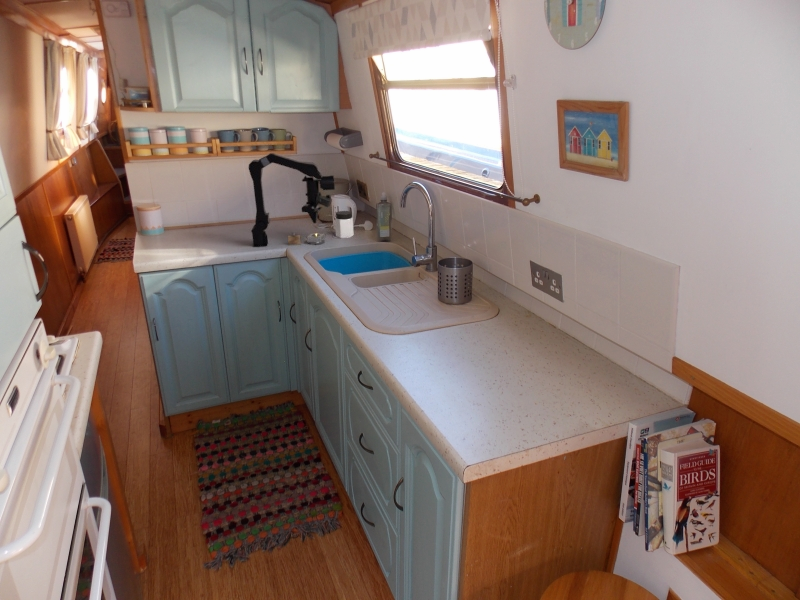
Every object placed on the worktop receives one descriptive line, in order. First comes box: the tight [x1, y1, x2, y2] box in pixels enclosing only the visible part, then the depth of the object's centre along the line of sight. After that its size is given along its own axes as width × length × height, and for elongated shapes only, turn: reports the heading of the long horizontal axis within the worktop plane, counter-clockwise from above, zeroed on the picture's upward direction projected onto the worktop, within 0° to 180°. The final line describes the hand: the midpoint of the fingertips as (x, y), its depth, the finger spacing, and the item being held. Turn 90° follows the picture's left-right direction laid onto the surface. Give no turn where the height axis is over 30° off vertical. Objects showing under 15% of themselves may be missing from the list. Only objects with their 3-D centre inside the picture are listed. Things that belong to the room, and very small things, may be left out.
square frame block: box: [306, 233, 326, 243], centre depth 273 cm, size 7×7×2 cm
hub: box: [307, 232, 326, 246], centre depth 273 cm, size 8×8×5 cm
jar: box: [334, 210, 354, 239], centre depth 283 cm, size 9×8×12 cm
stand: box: [287, 232, 301, 246], centre depth 271 cm, size 6×2×6 cm, turn 106°
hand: (314, 223), depth 271 cm, fingers closed
